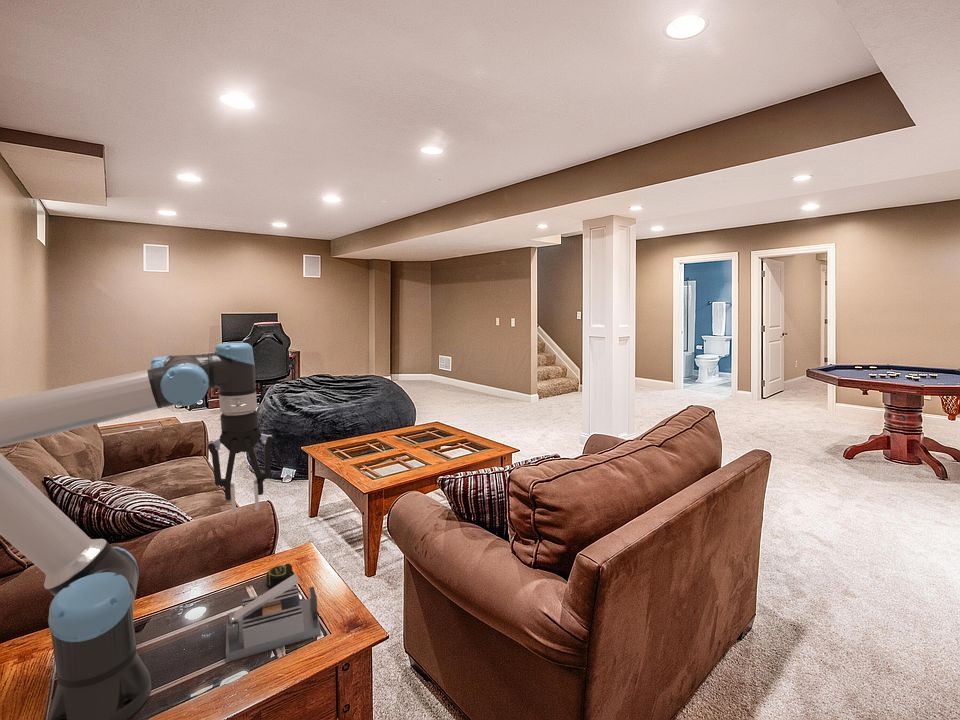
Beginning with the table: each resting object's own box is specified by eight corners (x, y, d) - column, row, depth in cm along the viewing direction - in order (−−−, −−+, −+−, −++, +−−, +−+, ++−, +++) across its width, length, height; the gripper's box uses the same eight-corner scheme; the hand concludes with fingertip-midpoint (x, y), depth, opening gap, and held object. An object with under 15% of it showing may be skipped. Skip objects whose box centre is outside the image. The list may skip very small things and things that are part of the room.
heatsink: (226, 662, 103) (223, 631, 102) (227, 627, 114) (225, 599, 113) (320, 635, 112) (319, 606, 111) (313, 605, 122) (312, 578, 121)
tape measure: (296, 586, 130) (295, 573, 130) (268, 593, 127) (267, 580, 127) (292, 573, 136) (292, 560, 136) (265, 580, 133) (264, 567, 133)
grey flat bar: (231, 627, 107) (227, 623, 107) (231, 619, 110) (227, 615, 110) (299, 583, 113) (296, 578, 112) (298, 576, 115) (295, 572, 115)
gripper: (193, 419, 104) (202, 524, 108) (281, 411, 112) (287, 509, 115) (196, 412, 111) (204, 511, 114) (278, 404, 119) (284, 497, 122)
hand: (245, 510), depth 115 cm, fingers open, 4 cm apart
